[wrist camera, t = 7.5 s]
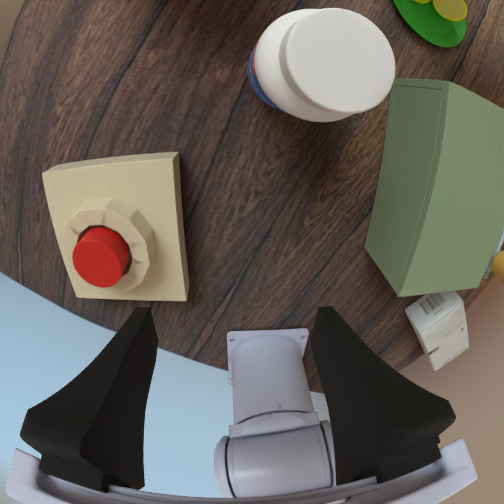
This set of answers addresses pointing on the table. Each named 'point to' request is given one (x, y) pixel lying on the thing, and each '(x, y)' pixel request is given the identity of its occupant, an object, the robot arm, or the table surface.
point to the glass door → (497, 260)
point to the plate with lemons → (436, 19)
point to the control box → (124, 221)
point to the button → (101, 257)
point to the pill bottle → (322, 64)
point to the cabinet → (438, 188)
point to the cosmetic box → (439, 326)
